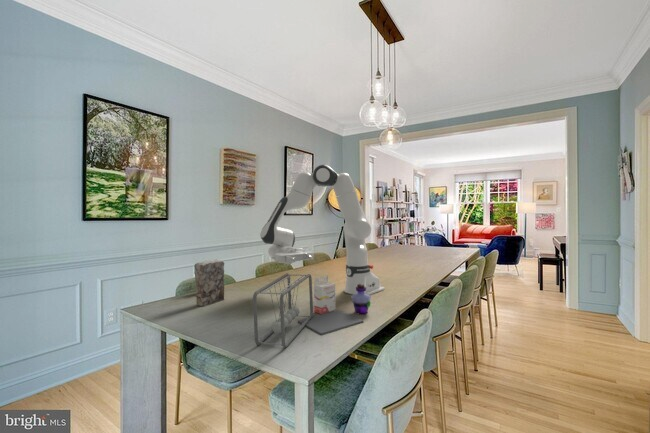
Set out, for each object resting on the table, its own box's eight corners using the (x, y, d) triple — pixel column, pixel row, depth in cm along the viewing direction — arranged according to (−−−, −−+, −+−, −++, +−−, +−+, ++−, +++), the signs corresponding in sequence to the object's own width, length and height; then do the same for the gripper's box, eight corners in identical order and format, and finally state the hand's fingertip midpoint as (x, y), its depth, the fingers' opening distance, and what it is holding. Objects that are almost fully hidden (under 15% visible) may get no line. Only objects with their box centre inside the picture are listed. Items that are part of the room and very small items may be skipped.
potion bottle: (370, 316, 126) (370, 287, 125) (349, 315, 128) (349, 286, 127) (372, 309, 134) (371, 282, 134) (352, 308, 136) (352, 281, 136)
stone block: (204, 307, 142) (203, 264, 141) (194, 305, 145) (193, 263, 144) (226, 299, 153) (225, 259, 153) (216, 298, 156) (215, 258, 156)
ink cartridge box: (322, 314, 129) (321, 279, 128) (314, 312, 132) (313, 278, 132) (336, 309, 135) (335, 276, 134) (328, 307, 138) (327, 274, 138)
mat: (338, 311, 132) (338, 310, 132) (363, 322, 119) (363, 320, 119) (298, 321, 121) (298, 320, 121) (321, 335, 108) (321, 333, 108)
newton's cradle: (284, 350, 96) (282, 294, 95) (254, 347, 99) (251, 293, 98) (313, 316, 125) (311, 272, 124) (289, 314, 128) (287, 272, 127)
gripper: (269, 250, 152) (283, 253, 141) (304, 247, 164) (319, 250, 153) (269, 263, 152) (283, 267, 141) (304, 259, 165) (319, 263, 153)
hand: (302, 258), depth 147 cm, fingers open, 8 cm apart
